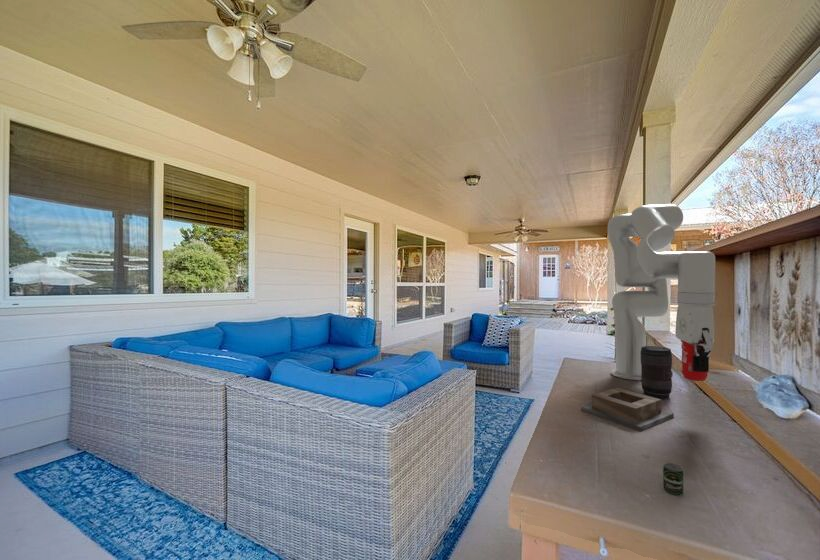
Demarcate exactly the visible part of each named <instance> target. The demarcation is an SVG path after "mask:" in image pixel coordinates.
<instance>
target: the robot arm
mask: <svg viewBox="0 0 820 560" xmlns="http://www.w3.org/2000/svg"><path fill="white" fill-rule="evenodd" d="M683 222H684V213H683V210H682V208H680V207H679V206H678V205H676V204H673V203H672V204H671V203H666V204H664V203H663V204H646V205H641V206H638V207H636V208H635V209H633V210H632V212H631V213H623V214H617V215H615V216H612V217H611V218H610V219H609V221H608V223H607V237H608V241H609V243H610V246H611V249H612V252H613V253H612V254H613V264H614V265H613V266H614V277H615V283H616V284H617V286H619V287H622V288H647V290H622V291H619V292H616V293H615V294H614V295H613V297H612V300H611V302H612V303H611V304H612V305H611V306H612V310H613V314H614V322H615V323H614V325H615V326H614V327H615V328H614V329H615V332H614V333H615V368H613V369H611V370H610V373H611V375H612V376H614V377H617V378H620V379H625V380H630V381H631V380H632V381H641V353H640V352H641V347H644V346H647V344H646V341H647V340H646V328H645V326H644V325H643V323H642V322H641V321H640V319H639V318H641V317H643V318H644V317H645V318H647V317H649V318H650V317H651V318H652V317H653V318H657V317H663V316H665V315H666V314H667V313H668V310H669V296H668V283H667V282H668V280H667V279H677V311H676V320H675V333H674V334H675V337H676V338H677V339H678V340H680V342H681V348H680V349H682V348H683V341H685V342H686V343H689V344H693V345H694V353H695V355H693V371H696V372H709V371H710V369H709V366H710V356H711V354H710V353H711V351H712V350H713V349H714V341H715V315H714V310H713V307H715V305H716V304H715V300H716V298H715V297H716V291H715V290H716V256H715V255H716V254H714V252H711V251H704V250H703V251H693V250H692V251H690V250H689V251H687V250H686V251H685V250H684V251H683V250H682V251H679V250H678V251H658V250H660V249H663V248H665V247H666V246H668V245H669V244H671V243H672V241H673V240H674V239H675V237H676V231H675V230H677V229H678V228H679V227H681V225H682V224H683ZM633 237H634V238H640V239H641V240H640V241H639V242H638V245H637V244H636V242H635V241H634V240H632V239H631V238H633ZM699 341H701V342H704V344H697V343H698V342H699ZM698 346H703V347H701V348H700V349H699V348H698Z"/></svg>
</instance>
